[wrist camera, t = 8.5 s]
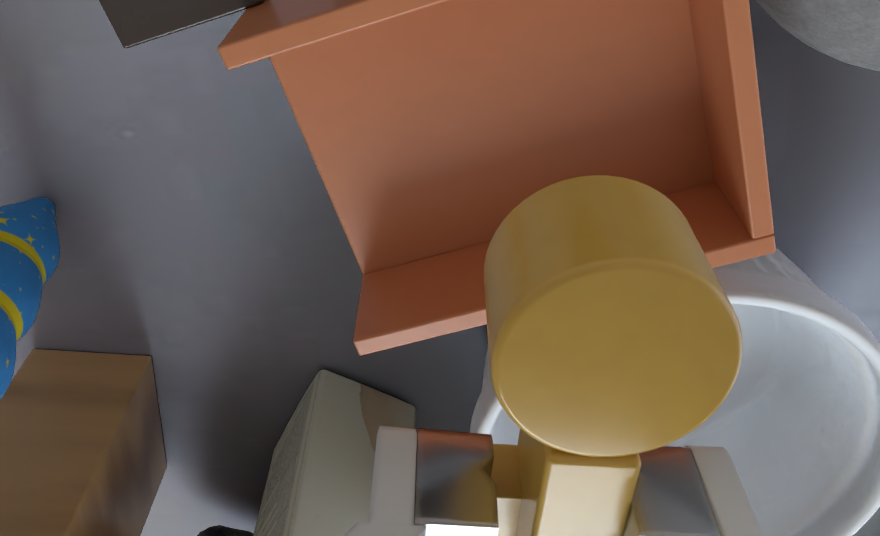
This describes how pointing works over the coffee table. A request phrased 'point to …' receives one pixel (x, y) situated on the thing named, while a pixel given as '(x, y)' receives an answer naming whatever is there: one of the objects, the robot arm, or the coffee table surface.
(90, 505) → the wooden post
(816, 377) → the ramekin
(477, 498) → the robot arm
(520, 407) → the key
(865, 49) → the decorative ball
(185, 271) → the coffee table surface
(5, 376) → the ornament
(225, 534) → the decorative rock
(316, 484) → the box
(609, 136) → the tray
